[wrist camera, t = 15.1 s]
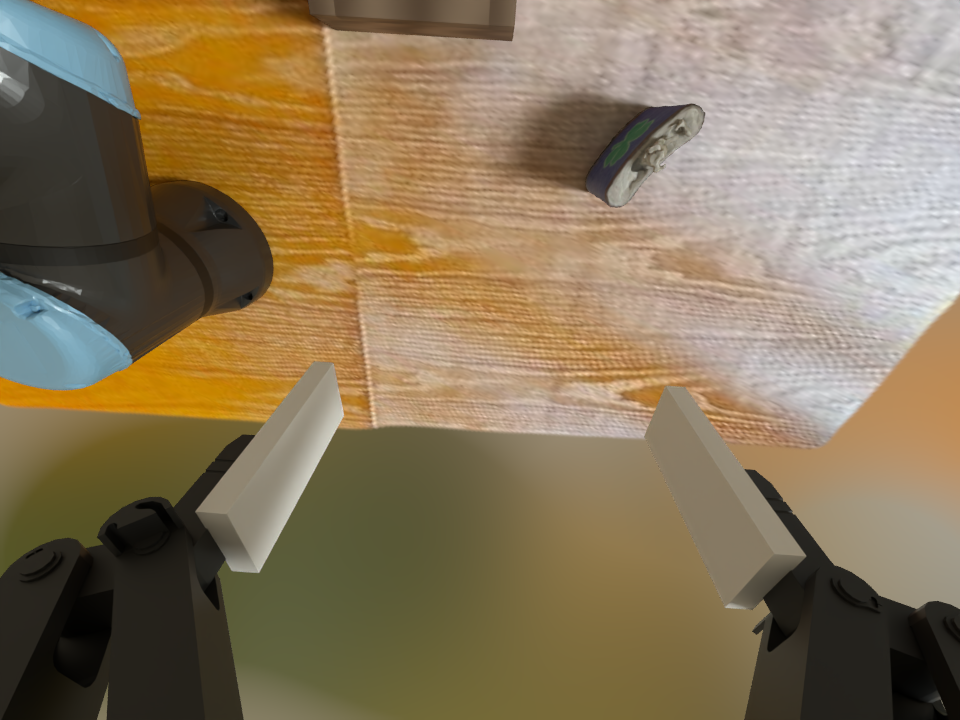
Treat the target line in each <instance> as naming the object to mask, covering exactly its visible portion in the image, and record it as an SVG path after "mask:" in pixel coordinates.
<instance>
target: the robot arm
mask: <svg viewBox="0 0 960 720" xmlns="http://www.w3.org/2000/svg"><path fill="white" fill-rule="evenodd" d="M138 119H140V120H141V115H140V113H139V111H138V110H137V109H136V108H135V105H134V101H133V96H132V92H131V88H130V84H129V80H128V75H127V71H126V67H125V63H124V61H123V58H122V56H121V55H120V53H119V51H118V50H117V49H116V47H115V46H114V45H113V44H112V43H111V42H110V41H109V40H108V39H107V38H106V37H105V36H104V35H103V34H101V33H100V32H99V31H97V30H96V29H94V28H93V27H91V26H89V25H87V24H85V23H83V22H81V21H78V20H76V19H73V18H71V17H68V16H66V15H64V14H61V13H59V12H56V11H54V10H51V9H49V8H46V7H44V6H41V5H39V4H36V3H34V2H32V1H29V0H0V377H3V378H5V379H8V380H11V381H14V382H17V383H21V384H24V385H28V386H32V387H37V388H43V389H50V390H74V389H79V388H84V387H87V386H90V385H93V384H95V383H97V382H98V381H100V380H102V379H104V378H106V377H107V376H109V375H111V374H113V373H115V372H116V371H121V370H123V369H125V368H127V367H129V366H130V365H131V364H132V363H134V362H135V361H137V360H138V359H140V358H141V357H143V356H144V355H146V354H147V353H149V352H150V351H152V350H153V349H155V348H156V347H158V346H159V345H161V344H162V343H164V342H165V341H167V340H168V339H170V338H171V337H173V336H174V335H176V334H177V333H179V332H180V331H182V330H183V329H185V328H186V327H188V326H189V325H191V324H192V323H194V322H195V321H196V320H198V319H200V318H201V317H205V316H210V315H216V314H221V313H227V312H232V311H237V310H240V309H243V308H245V307H247V306H249V305H250V304H252V303H253V302H255V301H256V300H258V299H259V298H260V297H261V296H263V295H264V293H265V292H266V291H267V289H268V288H269V286H270V284H271V281H272V276H273V259H272V254H271V251H270V247H269V245H268V242H267V240H266V238H265V236H264V234H263V232H262V231H261V229H260V228H259V226H258V225H257V223H256V222H255V221H254V219H253V218H252V217H251V216H250V215H249V214H248V213H247V211H245V210H244V209H243V208H242V207H241V206H240V205H239V204H238V203H237V202H235V201H234V200H233V199H231V198H230V197H229V196H227V195H225V194H224V193H222V192H220V191H218V190H216V189H214V188H212V187H210V186H207V185H204V184H201V183H197V182H192V181H173V182H167V183H161V184H157V185H153V186H151V187H150V183H149V177H148V172H147V166H146V161H145V155H144V149H143V144H142V138H141V133H140V127H139V121H138ZM343 416H344V413H343V408H342V403H341V398H340V393H339V388H338V383H337V378H336V373H335V368H334V363H329V362H315V361H314V362H313V364H312V365H311V366H310V367H309V369H308V370H307V371H306V372H305V374H304V375H303V376H302V377H301V379H300V380H299V381H298V382H297V384H296V385H295V386H294V388H293V389H292V390H291V391H290V393H289V394H288V395H287V396H286V398H285V399H284V400H283V401H282V403H281V404H280V405H279V406H278V408H277V409H276V410H275V412H274V413H273V414H272V415H271V417H270V418H269V419H268V420H267V422H266V423H265V424H264V426H263V427H262V428H261V429H260V430H259V432H258V433H257V434H256V435H241V436H240V437H239V438H237V439H236V440H234V441H233V442H231V443H230V444H228V445H227V446H226V447H225V448H224V450H223V451H222V452H221V453H220V454H219V455H218V456H217V458H216V459H215V462H212V463H211V465H210V466H209V467H208V468H207V469H206V472H205V473H203V474H202V475H201V476H200V477H199V479H198V480H197V481H196V482H195V483H194V485H193V486H192V487H191V488H190V489H189V490H188V491H187V493H186V494H185V495H184V496H183V497H182V498H181V500H180V501H179V502H178V503H177V504H176V505H175V507H174V508H173V507H172V505H171V504H170V502H169V501H168V500H167V499H164V498H162V497H149V498H145V499H141V500H138V501H135V502H133V503H131V504H129V505H127V506H125V507H123V508H121V509H120V510H119V511H117V512H116V513H115V514H113V515H112V516H111V517H109V519H108V520H107V521H106V522H105V523H104V524H103V526H102V527H101V528H100V531H99V534H98V536H97V538H98V539H100V541H101V542H102V543H103V545H99V546H94V547H89V548H85V547H84V546H83V545H82V544H81V543H80V542H79V541H78V540H75V539H71V538H64V539H57V540H53V541H51V542H48V543H46V544H43V545H40V546H39V547H37V548H35V549H33V550H31V551H29V552H28V553H26V554H24V555H23V556H22V557H21V558H19V559H18V560H17V561H15V562H14V563H13V564H12V565H11V566H10V567H9V568H8V569H7V570H6V572H5V573H4V574H3V575H2V576H1V578H0V720H97V717H98V714H99V711H100V708H101V704H102V701H103V698H104V695H105V692H106V689H107V685H108V682H109V686H108V705H107V720H244V719H243V714H242V707H241V701H240V696H239V690H238V684H237V677H236V671H235V666H234V660H233V654H232V648H231V642H230V636H229V630H228V624H227V618H226V612H225V606H224V600H223V594H222V589H221V583H220V578H219V577H218V574H217V572H218V571H219V569H220V568H221V566H222V564H223V563H224V561H225V560H226V562H227V564H228V565H229V567H230V569H231V570H232V571H241V572H255V573H259V572H260V570H261V568H262V566H263V564H264V563H265V561H266V559H267V557H268V555H269V553H270V551H271V550H272V548H273V546H274V544H275V542H276V540H277V538H278V537H279V535H280V533H281V531H282V529H283V527H284V526H285V523H286V522H287V520H288V518H289V516H290V514H291V513H292V511H293V509H294V507H295V505H296V503H297V501H298V500H299V498H300V496H301V494H302V492H303V490H304V488H305V487H306V485H307V483H308V481H309V479H310V477H311V476H312V474H313V472H314V470H315V468H316V466H317V464H318V463H319V461H320V458H321V457H322V455H323V453H324V451H325V450H326V448H327V446H328V444H329V442H330V440H331V438H332V437H333V435H334V433H335V431H336V429H337V427H338V425H339V424H340V422H341V420H342V418H343ZM644 437H645V439H646V441H647V443H648V445H649V447H650V449H651V452H652V454H653V456H654V458H655V460H656V462H657V464H658V467H659V468H660V471H661V473H662V475H663V477H664V479H665V481H666V484H667V485H668V488H669V490H670V492H671V494H672V496H673V498H674V500H675V503H676V505H677V507H678V509H679V511H680V513H681V515H682V517H683V520H684V522H685V524H686V526H687V528H688V530H689V532H690V534H691V536H692V538H693V541H694V543H695V545H696V547H697V549H698V551H699V553H700V556H701V558H702V560H703V562H704V564H705V566H706V568H707V570H708V572H709V575H710V577H711V579H712V581H713V583H714V585H715V587H716V590H717V592H718V594H719V596H720V598H721V600H722V602H723V604H724V606H725V608H738V609H751V610H752V609H754V608H755V607H756V606H757V605H758V604H759V603H760V602H761V601H762V600H763V599H764V601H765V603H766V604H767V606H768V608H769V610H770V613H769V614H768V615H767V616H766V617H765V618H764V619H763V620H762V621H760V622H759V623H758V624H757V625H756V626H755V628H754V629H753V631H752V632H754V633H755V634H758V633H759V632H760V631H762V630H763V633H762V638H761V643H760V648H759V652H758V657H757V662H756V667H755V672H754V677H753V681H752V686H751V690H750V695H749V700H748V705H747V710H746V714H745V719H744V720H960V609H958V608H956V607H954V606H952V605H950V604H946V603H943V602H939V601H933V602H928V603H926V604H924V605H923V606H921V607H920V608H918V609H915V608H912V607H909V606H906V605H904V604H901V603H898V602H895V601H892V600H890V599H887V598H884V597H881V596H879V595H878V594H877V593H876V592H875V591H874V590H873V589H872V588H871V587H870V586H869V585H868V584H867V583H866V582H865V581H864V580H862V579H861V578H859V577H858V576H856V575H855V574H853V573H852V572H850V571H848V570H845V569H843V568H841V567H838V566H834V564H833V563H832V562H831V561H830V560H829V558H828V557H827V556H826V555H825V553H824V552H823V551H822V549H821V548H820V547H819V545H818V544H817V543H816V541H815V540H814V539H813V537H812V536H811V535H810V534H809V532H808V531H807V530H806V529H805V527H804V526H803V525H802V523H801V522H800V521H799V519H798V518H797V517H796V515H793V513H792V510H791V509H790V507H789V506H788V505H787V504H786V502H783V498H782V497H781V496H780V494H779V493H778V492H777V490H776V489H775V488H774V487H773V485H772V484H771V483H770V482H769V481H767V480H766V479H765V478H764V477H763V476H761V475H760V474H759V473H758V472H757V471H755V470H746V469H743V467H742V466H741V464H740V463H739V462H738V460H737V459H736V457H735V456H734V455H733V453H732V452H731V451H730V449H729V448H728V446H727V445H726V443H725V442H724V441H723V439H722V438H721V437H720V435H719V434H718V432H717V431H716V430H715V428H714V427H713V425H712V424H711V423H710V421H709V420H708V418H707V417H706V416H705V414H704V413H703V411H702V410H701V409H700V407H699V406H698V405H697V403H696V402H695V400H694V399H693V398H692V396H691V395H690V393H689V392H688V391H687V389H686V388H685V387H675V386H665V388H664V391H663V393H662V395H661V398H660V400H659V403H658V405H657V407H656V410H655V412H654V415H653V417H652V419H651V422H650V424H649V426H648V429H647V431H646V434H645V436H644ZM941 700H942V702H943V704H942V702H941ZM943 705H944V707H945V709H944V707H943ZM945 710H946V711H945Z"/></svg>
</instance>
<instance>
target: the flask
mask: <svg viewBox="0 0 960 720" xmlns="http://www.w3.org/2000/svg"><path fill="white" fill-rule="evenodd" d="M704 117H705V112H703V110H702V108H701V107H700V106H697V105H695V104H687V105H677V106H662V107H650V108H647V109H645V110H644V111H642V112H640V113H639V114H637V116H635V117H634V118H633V119H632V120H631V121H630V122H628V123H627V124H626V126H625V127H623V128H622V129H621V130H620V131H619V132H618V134H617V135H616V136H615V137H614V138H613V139H612V141H611V142H610V144H609V145H608V146H607V147H606V149H605V150H604V151H603V153H602V154H601V155H600V157H599V158H598V159H597V160H596V162H595V163H594V165H593V167H592V168H591V169H590V171H589V173H588V175H587V177H586V181H585V182H586V188H587V190H588V191H589V192H590V193H592V194H594V195H595V196H596V197H597V198H600V199H601V200H602V201H604V202H605V203H607V205H609V206H610V207H615V208H617V207H622V206H624V205H625V204H626V203H627V202H629V201H630V200H631V198H632V197H633V196H634V194H635V193H636V191H637V190H638V189H639V187H640V186H641V185H642V183H643V182H644V181H645V180H646V179H647V178H648V177H649V176H650V175H651V174H652V172H655V173H657V172H658V171H660V170H662V169H664V168H665V167H666V164H664V165H663V166H660V164H661V163H662V162H663V161H664V160H665V159H666V158H667V157H668V156H670V155H671V154H672V153H673V152H674V151H675V150H677V149H678V148H679V147H681V146H682V145H683V144H685V143H687V142H688V141H690V140H691V139H692V138H693V137H694V136H695V135H696V134H697V133H698V132H699V131H700V129H701V128H702V125H703V122H704Z"/></svg>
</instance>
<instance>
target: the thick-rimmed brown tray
mask: <svg viewBox="0 0 960 720" xmlns="http://www.w3.org/2000/svg"><path fill="white" fill-rule="evenodd" d="M308 4H309V10H310V14H311V15H312V16H314V17H316V18H317V19H319V20H321V21H322V22H324V23H326V24H327V25H329V26H331V27H332V28H334V29H336V30H341V31H358V32H374V33H390V34H406V35H422V36H439V37H455V38H471V39H487V40H503V41H512V39H513V32H514V25H515V12H516V0H308Z"/></svg>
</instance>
